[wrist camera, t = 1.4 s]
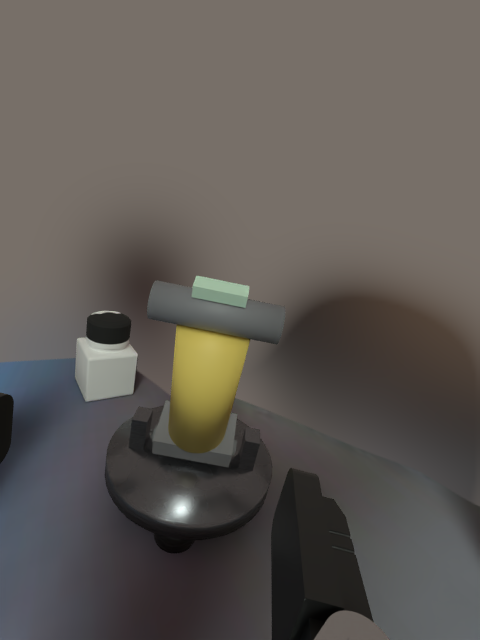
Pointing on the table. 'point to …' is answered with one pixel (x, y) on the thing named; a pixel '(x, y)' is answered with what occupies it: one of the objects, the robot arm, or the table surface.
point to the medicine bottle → (106, 357)
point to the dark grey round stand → (184, 484)
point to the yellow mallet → (207, 363)
